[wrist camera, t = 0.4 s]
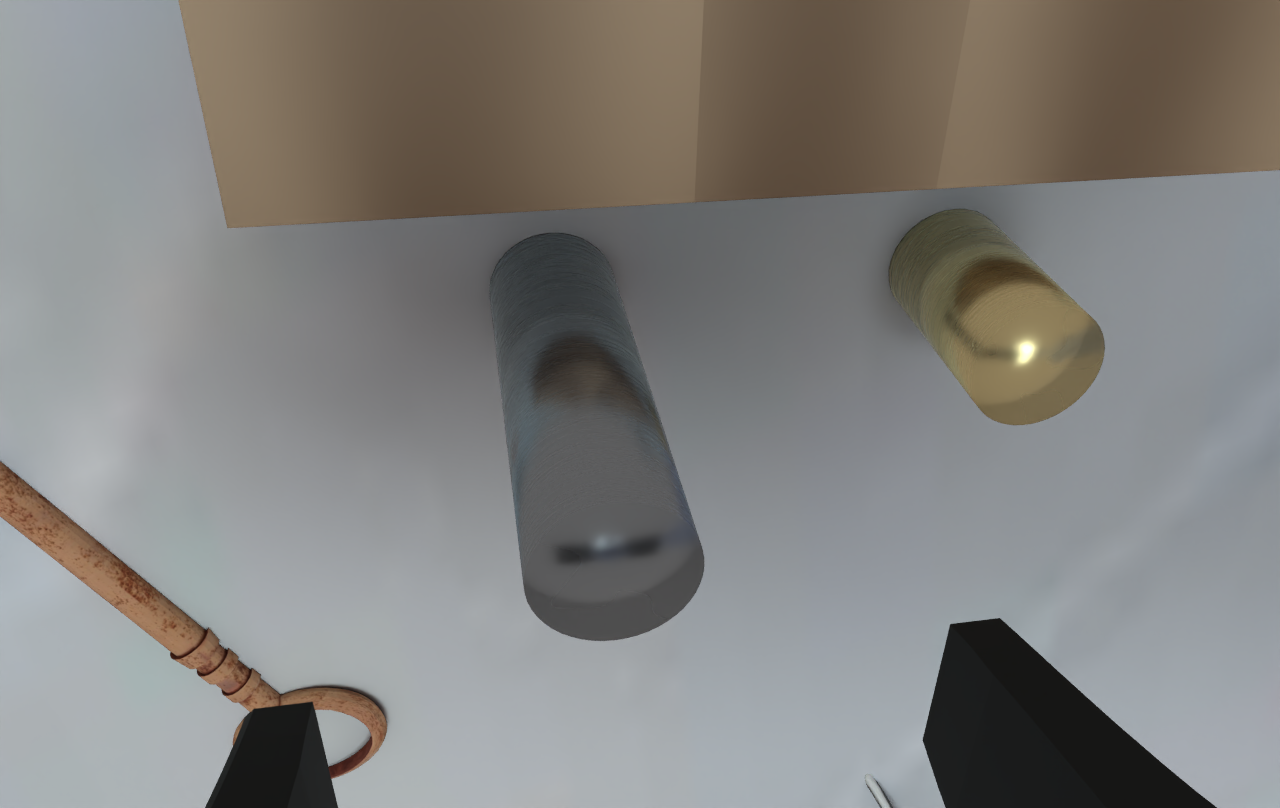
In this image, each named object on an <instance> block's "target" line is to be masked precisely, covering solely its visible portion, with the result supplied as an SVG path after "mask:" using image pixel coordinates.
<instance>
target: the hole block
mask: <svg viewBox="0 0 1280 808" xmlns="http://www.w3.org/2000/svg"><path fill="white" fill-rule="evenodd" d="M179 5H180V10H181V14H182V19H183V24H184V28H185V33H186V37H187V42H188V47H189V51H190V56H191V61H192V65H193V70H194V75H195V79H196V84H197V89H198V93H199V98H200V102H201V107H202V112H203V116H204V121H205V126H206V130H207V135H208V140H209V144H210V149H211V154H212V158H213V163H214V167H215V172H216V177H217V181H218V186H219V191H220V195H221V200H222V205H223V209H224V214H225V219H226V223H227V228H239V227H257V226H275V225H293V224H311V223H329V222H347V221H365V220H384V219H402V218H420V217H438V216H456V215H474V214H492V213H510V212H528V211H546V210H564V209H583V208H601V207H619V206H637V205H655V204H673V203H691V202H709V201H727V200H745V199H763V198H782V197H800V196H818V195H836V194H854V193H872V192H890V191H908V190H926V189H944V188H962V187H980V186H999V185H1017V184H1035V183H1053V182H1071V181H1089V180H1107V179H1125V178H1143V177H1161V176H1179V175H1198V174H1216V173H1234V172H1252V171H1270V170H1280V0H179Z"/></svg>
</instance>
